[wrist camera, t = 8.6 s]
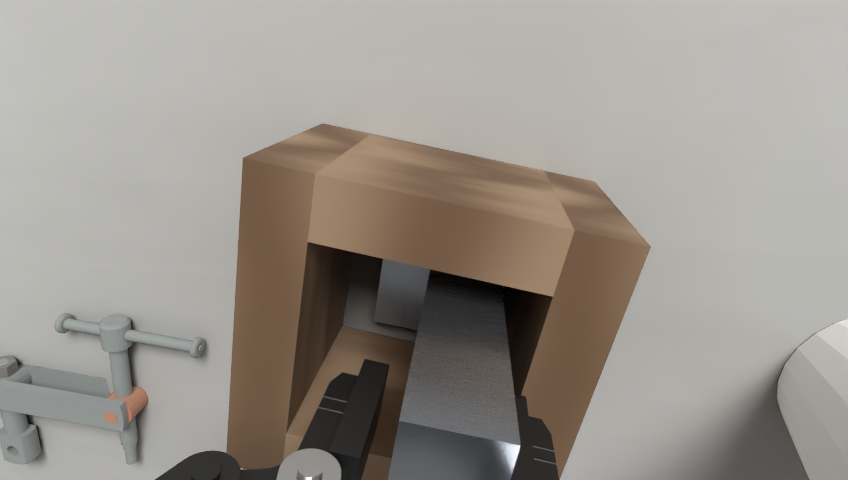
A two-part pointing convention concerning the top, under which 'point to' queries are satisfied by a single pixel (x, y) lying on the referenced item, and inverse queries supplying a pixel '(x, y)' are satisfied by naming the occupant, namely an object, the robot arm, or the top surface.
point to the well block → (424, 247)
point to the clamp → (78, 389)
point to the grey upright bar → (451, 376)
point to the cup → (818, 402)
